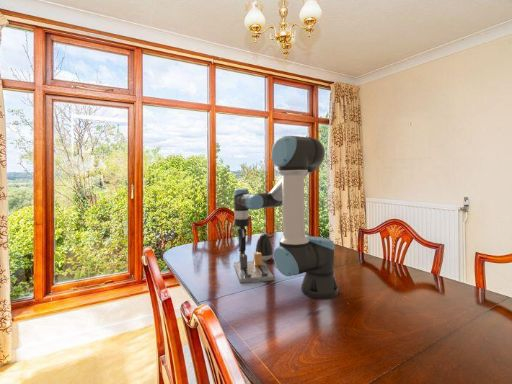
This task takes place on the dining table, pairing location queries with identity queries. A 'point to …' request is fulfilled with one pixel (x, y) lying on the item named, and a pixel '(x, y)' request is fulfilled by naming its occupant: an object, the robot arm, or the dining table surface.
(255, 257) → the fader orange
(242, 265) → the fader graphite
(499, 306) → the dining table surface
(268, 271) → the console
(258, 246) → the pump dispenser
